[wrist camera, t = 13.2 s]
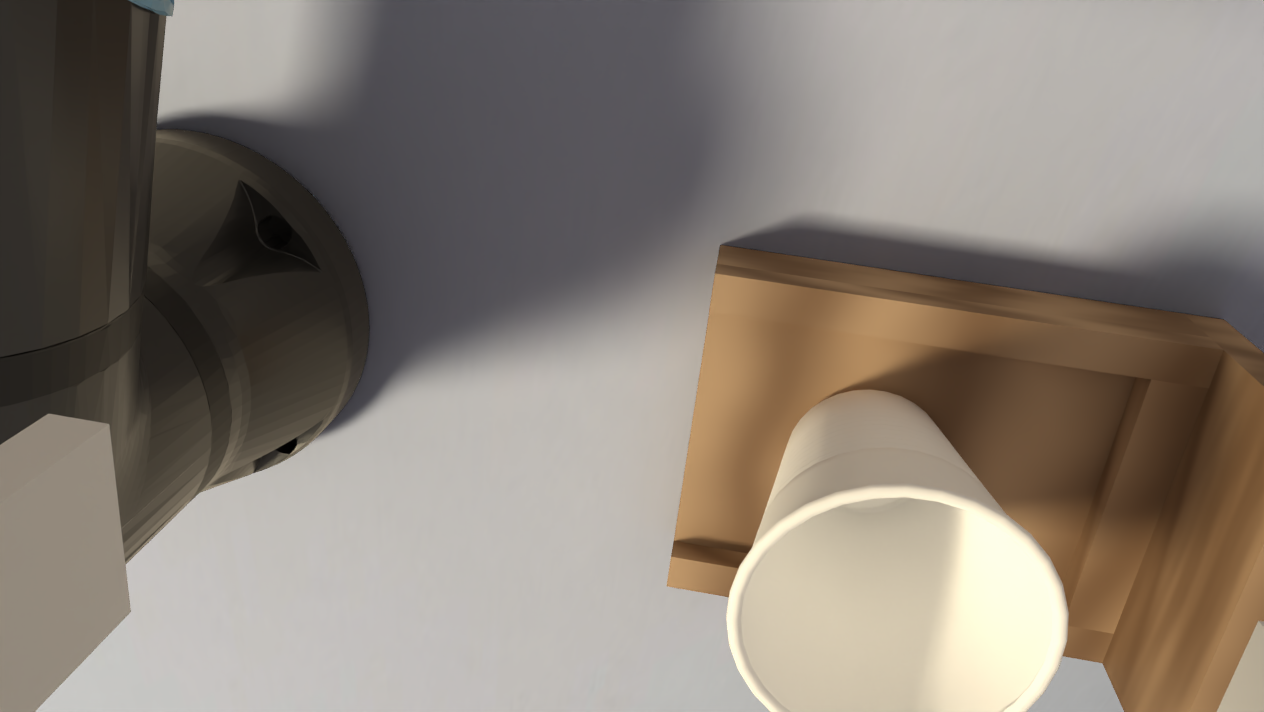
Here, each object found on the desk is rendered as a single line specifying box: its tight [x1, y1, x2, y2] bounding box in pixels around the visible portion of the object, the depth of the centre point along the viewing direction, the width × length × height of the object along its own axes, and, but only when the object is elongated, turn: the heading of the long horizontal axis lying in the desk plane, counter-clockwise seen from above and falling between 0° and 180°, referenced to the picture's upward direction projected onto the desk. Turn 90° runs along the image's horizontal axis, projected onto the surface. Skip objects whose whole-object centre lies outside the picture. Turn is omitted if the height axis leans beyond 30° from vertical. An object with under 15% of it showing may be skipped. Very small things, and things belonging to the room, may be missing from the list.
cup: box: [726, 390, 1069, 712], centre depth 34 cm, size 10×10×11 cm
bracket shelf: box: [667, 245, 1264, 712], centre depth 37 cm, size 20×14×10 cm
